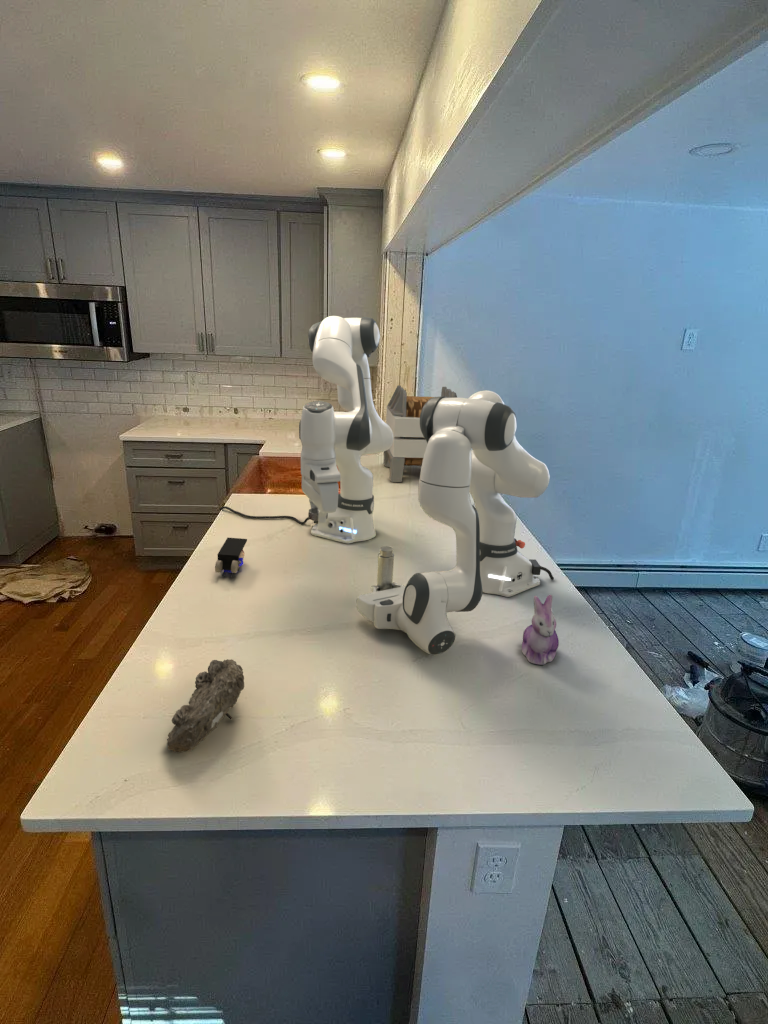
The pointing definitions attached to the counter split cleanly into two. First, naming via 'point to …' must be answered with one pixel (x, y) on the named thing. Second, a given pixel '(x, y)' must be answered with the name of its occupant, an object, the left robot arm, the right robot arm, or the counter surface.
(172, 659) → the counter surface
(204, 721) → the fossil
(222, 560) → the figurine character
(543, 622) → the figurine
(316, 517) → the lid
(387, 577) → the beige cylinder
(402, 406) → the transformer
